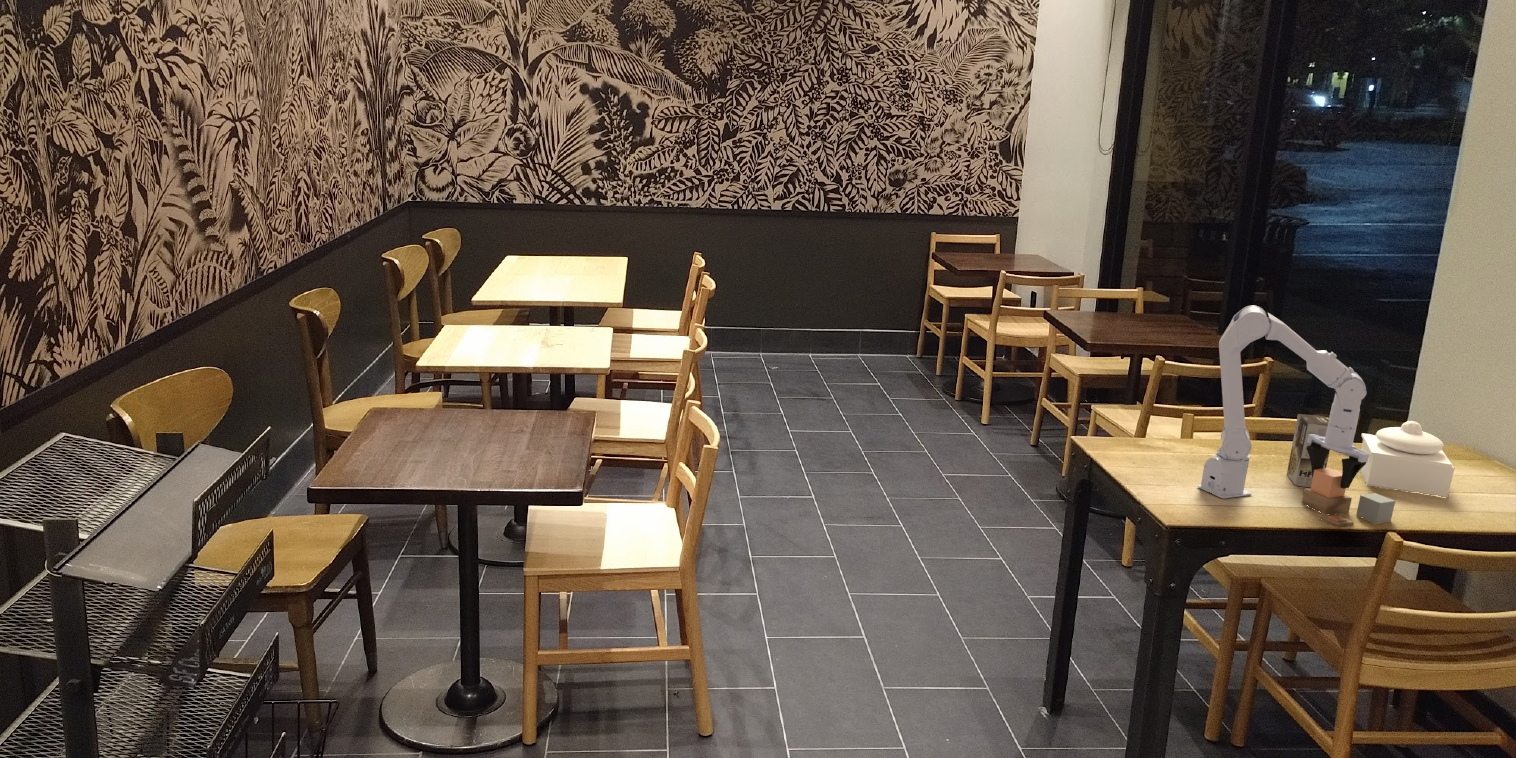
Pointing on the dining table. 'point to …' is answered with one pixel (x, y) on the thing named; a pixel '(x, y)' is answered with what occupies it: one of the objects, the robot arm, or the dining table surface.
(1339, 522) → the tile
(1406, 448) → the butter dish
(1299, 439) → the coffee box
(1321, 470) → the terracotta cube
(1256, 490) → the dining table surface
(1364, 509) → the slate cube
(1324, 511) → the walnut slab
